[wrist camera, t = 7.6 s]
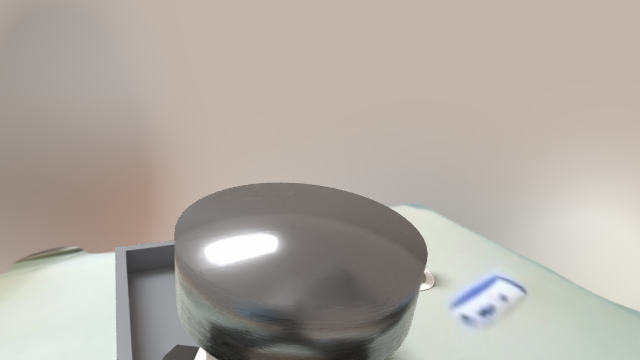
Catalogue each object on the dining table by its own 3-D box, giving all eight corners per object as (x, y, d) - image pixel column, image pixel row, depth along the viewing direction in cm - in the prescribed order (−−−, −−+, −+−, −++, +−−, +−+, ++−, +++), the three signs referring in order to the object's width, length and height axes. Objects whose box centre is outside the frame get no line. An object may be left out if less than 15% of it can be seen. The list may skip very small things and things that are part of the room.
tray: (287, 250, 52) (290, 226, 51) (378, 362, 34) (386, 329, 33) (117, 277, 41) (115, 247, 40) (120, 463, 23) (117, 419, 22)
